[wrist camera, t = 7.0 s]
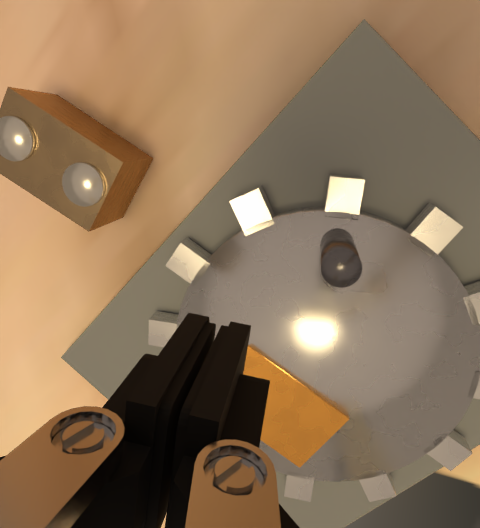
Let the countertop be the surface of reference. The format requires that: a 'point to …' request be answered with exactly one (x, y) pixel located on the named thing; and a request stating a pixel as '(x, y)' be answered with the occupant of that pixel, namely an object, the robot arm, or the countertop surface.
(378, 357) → the sprocket
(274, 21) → the countertop surface
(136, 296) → the sprocket base
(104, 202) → the brown rectangular block
